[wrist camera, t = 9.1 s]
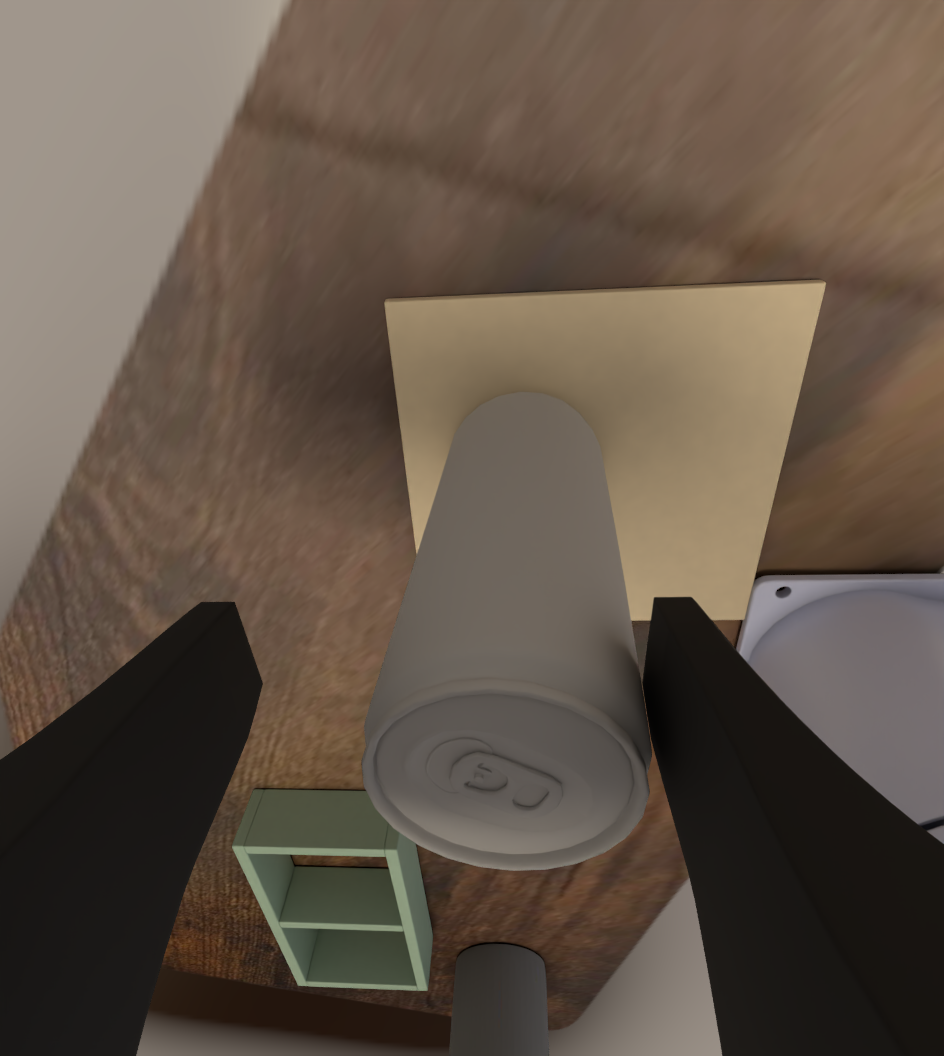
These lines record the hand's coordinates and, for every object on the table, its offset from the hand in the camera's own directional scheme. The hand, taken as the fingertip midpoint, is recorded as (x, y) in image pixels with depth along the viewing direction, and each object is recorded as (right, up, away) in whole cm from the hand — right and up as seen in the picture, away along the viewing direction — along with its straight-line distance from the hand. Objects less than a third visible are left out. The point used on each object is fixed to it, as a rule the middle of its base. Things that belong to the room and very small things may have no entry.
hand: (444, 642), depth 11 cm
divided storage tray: (-6, -17, +25) cm, 31 cm away
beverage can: (+2, +4, +9) cm, 10 cm away
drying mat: (+4, +4, +10) cm, 11 cm away
